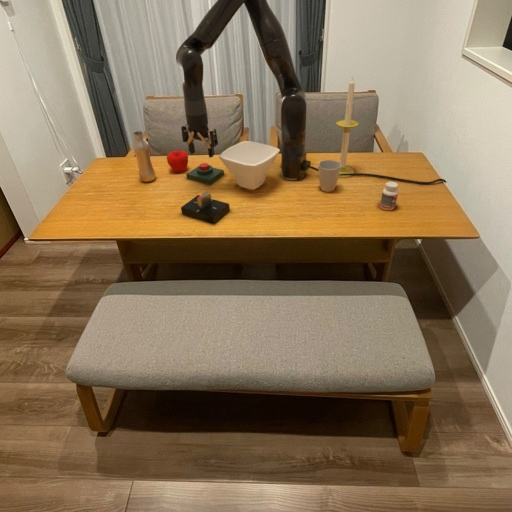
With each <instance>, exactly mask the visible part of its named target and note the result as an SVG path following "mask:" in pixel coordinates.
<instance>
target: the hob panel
mask: <svg viewBox="0 0 512 512" xmlns="http://www.w3.org/2000/svg"><path fill="white" fill-rule="evenodd" d="M200 196H201V195H200V194H197V195H196V196H194V197H193V198H192V199H190V200H189V201H188V202H186V203H185V204H183V206H181V207H180V210H181V214H182V216H184V217H189V218H192V219H195V220H198V221H201V222H204V223H208V224H211V225H215V224H216V223H218V222H219V221H220V220H221V219H222V218H223V217H224V216H226V215H227V214H228V213H229V212H231V209H230V203H228V202H224V201H221V200H218V199H214V198H211V201H212V203H210V204H209V205H208V206H206V207H205V208H204V209H203V210H202V209H199V208H198V202H197V198H198V197H200Z"/></svg>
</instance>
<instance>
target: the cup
mask: <svg viewBox="0 0 512 512" xmlns="http://www.w3.org/2000/svg"><path fill="white" fill-rule="evenodd" d="M340 166H341V164H340V161H337V160H332V159H325V160H321V161H319V162H318V169H319V172H318V171H317V172H318V174H317V175H318V183H319V187H320V190H321V191H323V192H326V193H328V192H329V193H330V192H333V191H334V190H335V188H336V187H337V184H338V180H339V178H340V177H339V172H340Z"/></svg>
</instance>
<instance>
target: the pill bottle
mask: <svg viewBox="0 0 512 512" xmlns="http://www.w3.org/2000/svg"><path fill="white" fill-rule="evenodd" d="M398 186H399V185H398V183H397V182H395V181H387V182H386V183H385V185H384V188H383V189H382V192H381V196H380V197H381V198H380V201H379V207H380V208H381V209H382V210H385V211H392V210H394V209H395V208H396V204H397V200H398V196H399V190H398Z"/></svg>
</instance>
